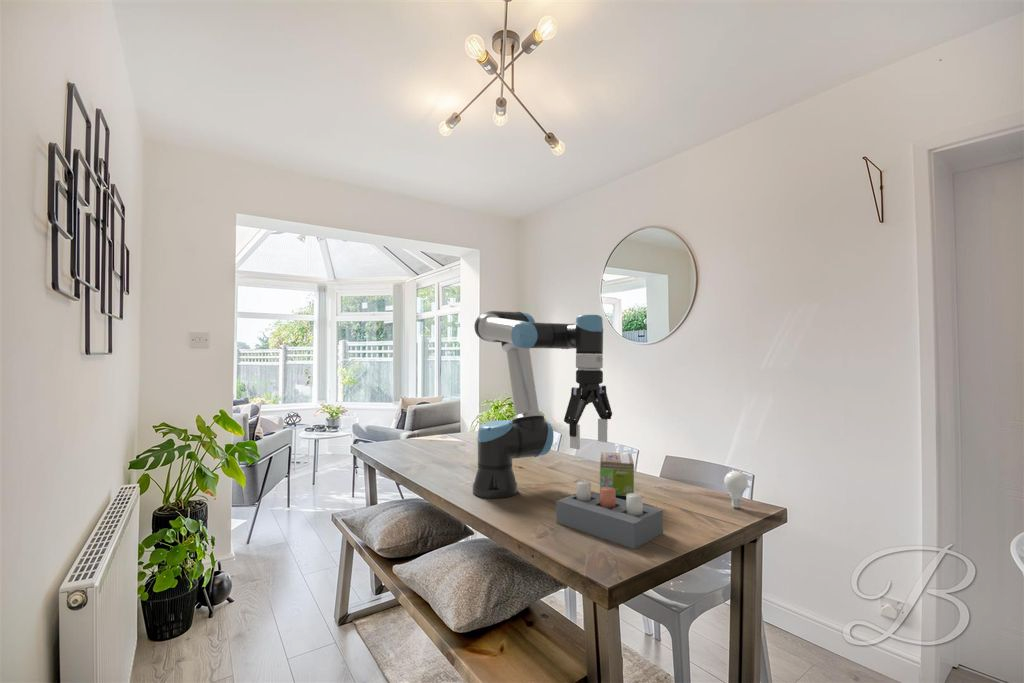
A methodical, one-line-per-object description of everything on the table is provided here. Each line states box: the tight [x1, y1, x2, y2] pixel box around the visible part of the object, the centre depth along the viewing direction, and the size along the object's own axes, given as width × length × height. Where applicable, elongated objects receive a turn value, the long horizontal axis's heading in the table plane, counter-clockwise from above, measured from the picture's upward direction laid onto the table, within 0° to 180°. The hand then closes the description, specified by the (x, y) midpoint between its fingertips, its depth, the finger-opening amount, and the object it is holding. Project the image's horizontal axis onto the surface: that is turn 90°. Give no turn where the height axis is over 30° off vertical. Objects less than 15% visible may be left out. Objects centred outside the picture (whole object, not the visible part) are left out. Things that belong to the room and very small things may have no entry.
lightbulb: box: [724, 470, 749, 510], centre depth 136 cm, size 6×6×11 cm
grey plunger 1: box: [575, 480, 592, 502], centre depth 127 cm, size 4×4×6 cm
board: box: [555, 490, 664, 550], centre depth 121 cm, size 24×14×6 cm, turn 44°
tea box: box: [599, 451, 635, 500], centre depth 140 cm, size 15×10×15 cm
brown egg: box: [599, 487, 616, 509], centre depth 121 cm, size 4×4×6 cm
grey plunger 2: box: [626, 492, 644, 517], centre depth 115 cm, size 4×4×6 cm
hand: (589, 445), depth 127 cm, fingers open, 13 cm apart
